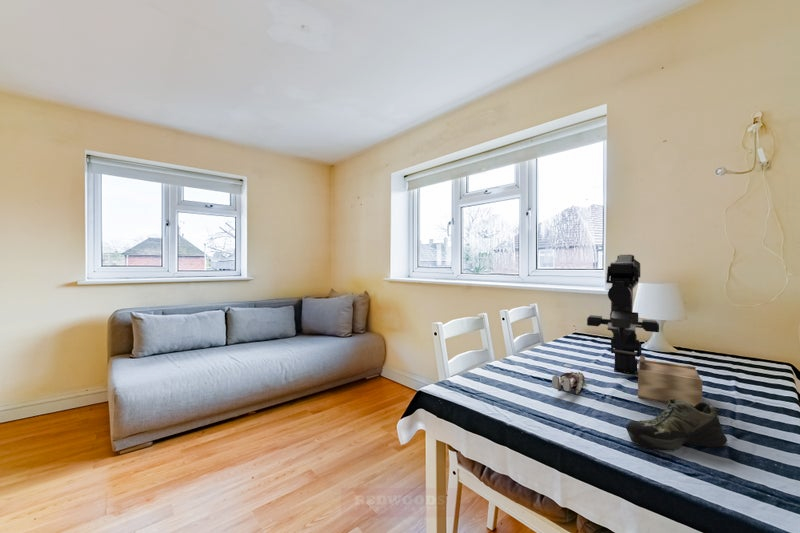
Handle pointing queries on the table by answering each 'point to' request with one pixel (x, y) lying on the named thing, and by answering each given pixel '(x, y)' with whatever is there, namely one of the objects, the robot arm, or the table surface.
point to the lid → (666, 369)
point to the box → (669, 385)
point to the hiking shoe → (679, 427)
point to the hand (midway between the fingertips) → (621, 350)
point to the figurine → (568, 381)
